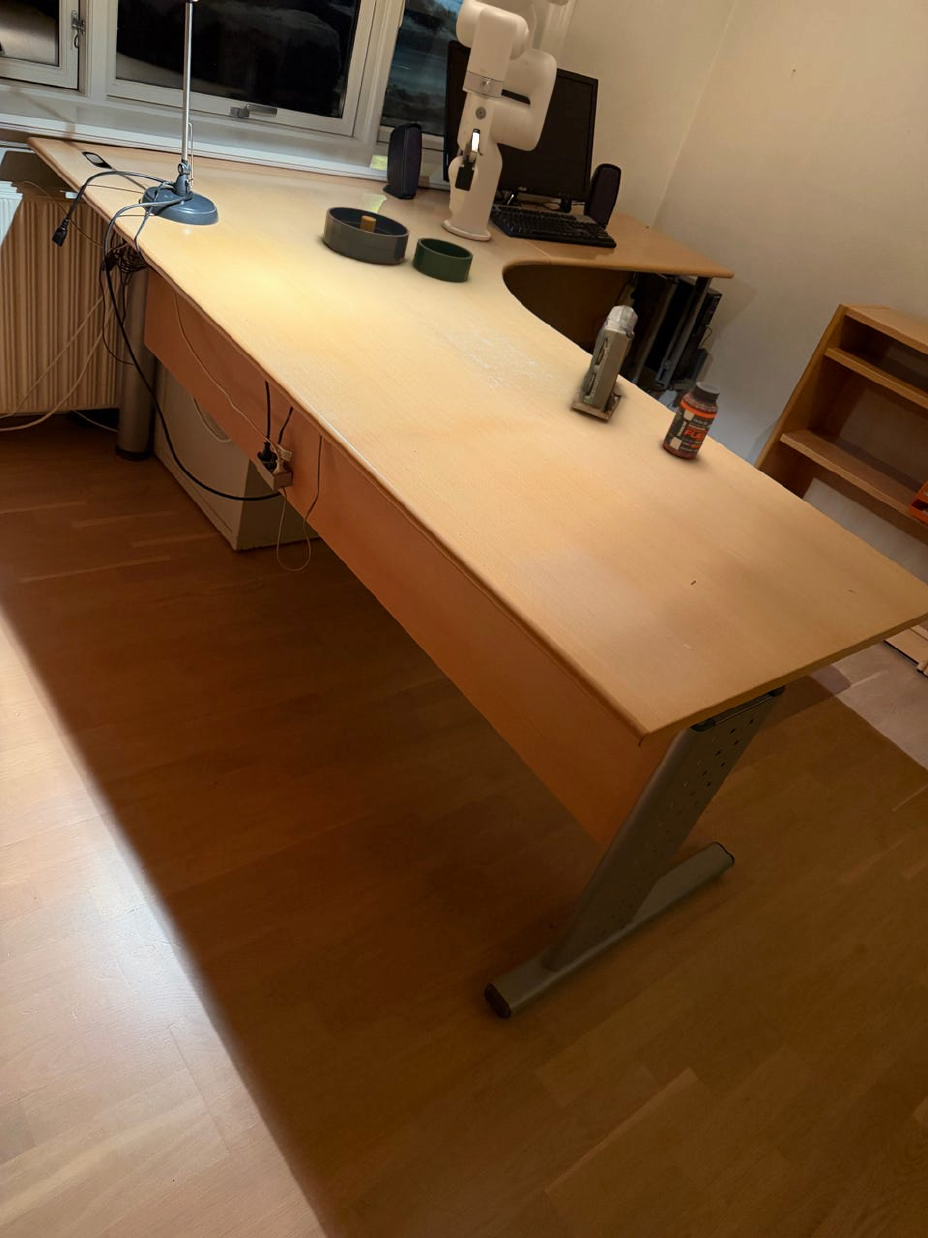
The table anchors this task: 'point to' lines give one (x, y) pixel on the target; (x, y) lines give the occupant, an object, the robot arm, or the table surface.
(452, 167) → the lightbulb
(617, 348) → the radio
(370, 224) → the tin lid
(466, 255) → the tin
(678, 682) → the table surface
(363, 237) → the bowl
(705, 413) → the supplement bottle
